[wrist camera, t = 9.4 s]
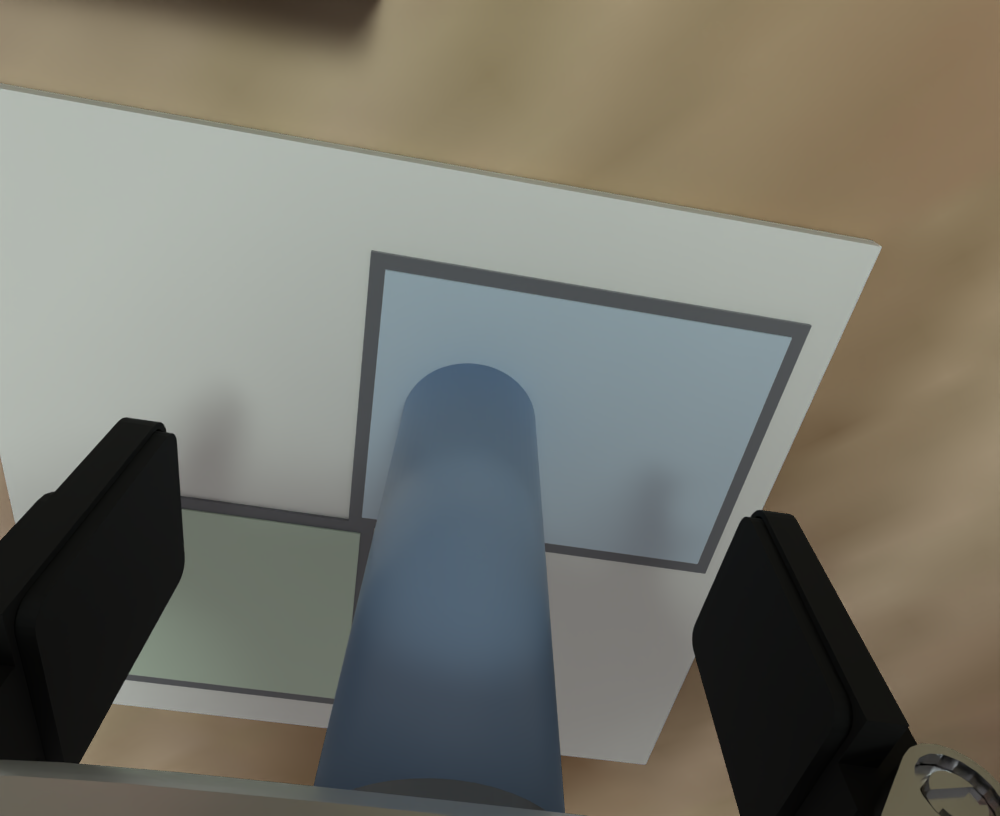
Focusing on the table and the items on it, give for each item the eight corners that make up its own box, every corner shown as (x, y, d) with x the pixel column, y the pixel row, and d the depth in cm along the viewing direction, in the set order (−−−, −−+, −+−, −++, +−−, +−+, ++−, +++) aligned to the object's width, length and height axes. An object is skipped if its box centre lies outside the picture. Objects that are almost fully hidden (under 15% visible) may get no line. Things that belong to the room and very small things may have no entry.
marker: (553, 371, 14) (628, 940, 6) (525, 489, 16) (551, 1080, 7) (405, 348, 14) (252, 906, 6) (391, 469, 16) (253, 1059, 7)
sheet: (872, 240, 14) (885, 248, 13) (643, 752, 22) (646, 768, 21) (-68, 71, 12) (-90, 74, 12) (61, 684, 20) (50, 700, 20)
